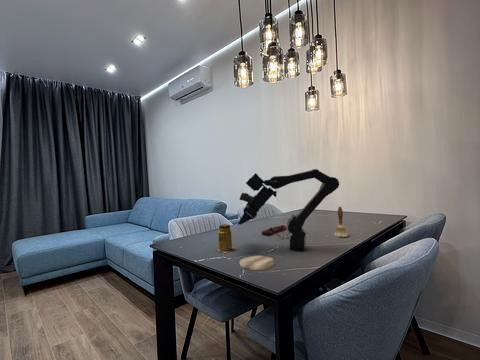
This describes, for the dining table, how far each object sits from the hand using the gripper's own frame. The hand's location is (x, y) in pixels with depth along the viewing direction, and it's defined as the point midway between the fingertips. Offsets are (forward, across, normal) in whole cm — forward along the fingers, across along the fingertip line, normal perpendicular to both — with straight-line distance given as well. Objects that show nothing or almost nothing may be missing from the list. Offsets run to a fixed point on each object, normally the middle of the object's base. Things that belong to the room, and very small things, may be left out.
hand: (239, 222), depth 127 cm
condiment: (+14, 0, +4) cm, 15 cm away
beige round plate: (+4, +19, +15) cm, 25 cm away
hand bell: (-26, -22, +47) cm, 58 cm away
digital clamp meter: (-6, -29, +26) cm, 39 cm away
